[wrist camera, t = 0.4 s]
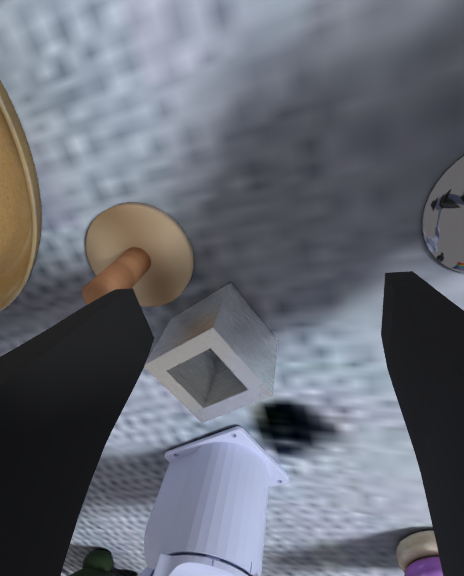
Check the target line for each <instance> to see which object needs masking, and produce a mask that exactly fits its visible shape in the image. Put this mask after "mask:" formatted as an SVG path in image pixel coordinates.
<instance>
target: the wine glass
mask: <svg viewBox="0 0 464 576" xmlns="http://www.w3.org/2000/svg"><path fill="white" fill-rule="evenodd" d="M422 232H423V237H424V241H425V243H426V245H427V247H428V250H429V251H430V252H431V254H432V255H433V256H434V257H435V258H436V259H437V260H438V261H439V262H440V263H442V264H443V265H445V266H446V267H448V268H450V269H452V270H455V271H458V272H461V273H464V155H463V156H462V157H461V158H459V159H458V160H457V161H456V162H454V163H453V164H452V165H451V166H450V167H449V168H448V169H447V170H446V171H445V172H444V173H443V175H442V176H441V177H440V178H439V180H438V181H437V182H436V184H435V185H434V187H433V189H432V191H431V192H430V194H429V196H428V199H427V201H426V204H425V206H424V211H423V216H422Z"/></svg>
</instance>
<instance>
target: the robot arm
mask: <svg viewBox="0 0 464 576" xmlns="http://www.w3.org/2000/svg"><path fill="white" fill-rule="evenodd" d="M381 336H382V342H383V347H384V353H385V358H386V363H387V368H388V371H389V375H390V378H391V381H392V384H393V387H394V390H395V393H396V396H397V399H398V402H399V405H400V408H401V411H402V414H403V417H404V421H405V424H406V427H407V430H408V433H409V436H410V439H411V442H412V445H413V448H414V451H415V454H416V458H417V461H418V465H419V468H420V472H421V476H422V480H423V485H424V489H425V494H426V498H427V502H428V507H429V511H430V516H431V520H432V525H433V530H434V534H435V539H436V544H437V549H438V553H439V558H440V563H441V568H442V572H443V576H464V311H463V310H462V309H461V308H459V307H458V306H457V305H455V304H454V303H453V302H451V301H450V300H449V299H447V298H446V297H445V296H443V295H442V294H441V293H440V292H438V291H437V290H436V289H434V288H433V287H432V286H431V285H429V284H428V283H427V282H426V281H424V280H423V279H422V278H420V277H419V276H418V275H416V274H415V273H414V272H412V271H411V272H394V273H385V286H384V301H383V315H382V330H381ZM153 339H154V337H153V335H152V332H151V330H150V328H149V325H148V323H147V321H146V318H145V316H144V314H143V311H142V309H141V306H140V304H139V302H138V299H137V297H136V295H135V292H134V290H133V288H129V289H115V290H113V291H111V292H109V293H107V294H105V295H103V296H102V297H100V298H98V299H96V300H95V301H93V302H91V303H90V304H88V305H86V306H85V307H83V308H81V309H80V310H78V311H77V312H75V313H73V314H72V315H70V316H69V317H67V318H65V319H64V320H62V321H61V322H59V323H57V324H56V325H54V326H53V327H51V328H49V329H48V330H46V331H44V332H42V333H41V334H39V335H37V336H36V337H34V338H32V339H31V340H29V341H27V342H26V343H24V344H22V345H20V346H19V347H17V348H15V349H14V350H12V351H10V352H8V353H6V354H5V355H3V356H1V357H0V576H60V575H61V571H62V568H63V564H64V560H65V557H66V554H67V551H68V548H69V545H70V541H71V538H72V535H73V532H74V529H75V526H76V522H77V519H78V516H79V513H80V510H81V508H82V505H83V502H84V499H85V496H86V494H87V491H88V488H89V485H90V482H91V479H92V477H93V474H94V472H95V469H96V467H97V464H98V462H99V459H100V457H101V454H102V451H103V449H104V446H105V444H106V442H107V440H108V438H109V436H110V433H111V431H112V429H113V427H114V425H115V423H116V421H117V419H118V418H119V416H120V414H121V412H122V410H123V408H124V406H125V404H126V402H127V400H128V398H129V396H130V394H131V392H132V390H133V388H134V386H135V384H136V382H137V380H138V378H139V376H140V374H141V372H142V370H143V368H144V366H145V363H146V360H147V357H148V355H149V352H150V348H151V345H152V342H153ZM164 458H165V459H166V460H167V461H168V462H170V463H169V465H168V468H167V471H166V474H165V476H164V479H163V482H162V485H161V487H160V490H159V493H158V495H157V498H156V501H155V504H154V506H153V509H152V512H151V515H150V517H149V520H148V523H147V527H146V531H145V538H144V553H145V559H146V563H147V566H148V567H147V568H146V569H144V571H143V572H142V573H140V574H139V575H138V576H261V572H262V560H263V548H264V536H265V524H266V513H267V501H268V489H269V487H273V486H277V485H282V484H286V483H288V482H289V475H288V474H287V473H286V472H285V471H284V470H283V469H282V468H281V467H280V466H279V465H278V464H277V463H276V462H275V461H274V460H273V459H272V458H271V457H270V456H269V455H268V454H267V453H266V452H265V451H264V450H263V449H262V448H261V447H260V446H259V445H258V444H257V443H256V441H255V440H254V439H253V438H252V437H251V436H250V435H249V434H248V433H247V432H246V431H245V430H244V429H243V428H242V427H238V426H237V427H233V428H231V429H228V430H225V431H222V432H219V433H217V434H214V435H211V436H208V437H206V438H203V439H200V440H197V441H194V442H192V443H189V444H186V445H183V446H180V447H178V448H175V449H172V450H169V451H167V452H165V455H164Z"/></svg>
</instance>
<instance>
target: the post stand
mask: <svg viewBox="0 0 464 576" xmlns="http://www.w3.org/2000/svg"><path fill="white" fill-rule="evenodd" d="M86 251H87V257H88V260H89V263H90V265H91V268H92V270H93V271H94V273H95V275H96V277H95V278H94V279H92V280H91V281H90V282H89V283H88V284H87V285H85V286H84V288H83V290H82V297H83V299H84V301H85V303H86V304H87V305H88V304H90V303H91V302H93V301H95V300H96V299H98V298H100V297H102V296H103V295H105V294H107V293H109V292H111V291H113V290H115V289H129V288H133V290H134V292H135V295H136V297H137V299H138V302H139V304H140V306H146V307H154V306H161V305H165V304H167V303H170V302H171V301H173V300H175V299H176V298H177V297H179V296H180V295H181V293H182V292H183V291H184V289H185V288H186V286H187V285H188V283H189V281H190V279H191V277H192V274H193V269H194V255H193V250H192V246H191V244H190V241H189V239H188V237H187V235H186V234H185V232H184V231H183V229H182V228H181V227H180V225H179V224H178V223H177V222H176V221H175V220H174V219H173V218H172V217H170V216H169V215H168V214H166V213H165V212H163V211H162V210H160V209H158V208H156V207H153V206H151V205H148V204H144V203H138V202H127V203H121V204H118V205H115V206H113V207H111V208H109V209H108V210H106V211H104V212H102V213H101V214H100V215H98V216H97V217H96V219H95V220H94V221H93V222H92V224H91V226H90V228H89V230H88V233H87V237H86Z"/></svg>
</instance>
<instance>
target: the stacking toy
mask: <svg viewBox="0 0 464 576" xmlns="http://www.w3.org/2000/svg"><path fill="white" fill-rule="evenodd" d="M396 558H397V562H398V564H399V566H400V568H401V569H402V570H403V572H404V573H405V575H404V576H443V572H442V568H441V563H440V558H439V553H438V549H437V544H436V539H435V534H434V531H422V532H418V533H414V534H411V535H409V536H407V537H406V538H404V539H403V540H402V541H401V542H400V543H399V545H398V546H397V550H396Z"/></svg>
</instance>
